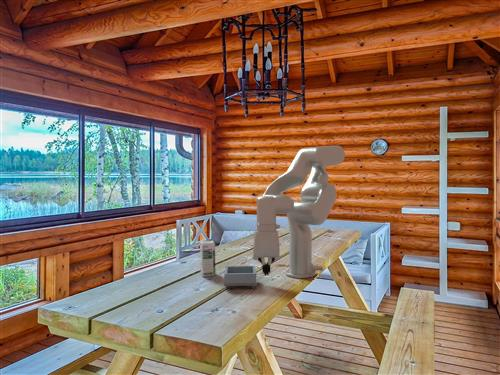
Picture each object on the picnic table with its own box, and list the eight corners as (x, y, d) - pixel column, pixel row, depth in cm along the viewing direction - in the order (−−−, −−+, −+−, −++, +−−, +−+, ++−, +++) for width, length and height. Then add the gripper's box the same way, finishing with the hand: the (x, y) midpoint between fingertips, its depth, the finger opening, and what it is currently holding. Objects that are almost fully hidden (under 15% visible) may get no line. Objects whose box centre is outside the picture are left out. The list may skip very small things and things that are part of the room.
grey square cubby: (255, 280, 153) (254, 265, 153) (256, 289, 141) (256, 273, 141) (225, 280, 153) (225, 266, 153) (224, 289, 141) (224, 274, 141)
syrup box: (202, 277, 159) (201, 243, 158) (200, 273, 165) (199, 240, 164) (215, 276, 161) (215, 242, 160) (213, 272, 166) (212, 239, 166)
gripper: (284, 226, 150) (284, 271, 151) (246, 226, 150) (246, 272, 151) (286, 229, 143) (286, 276, 144) (247, 229, 142) (247, 277, 143)
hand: (266, 274), depth 147 cm, fingers closed
